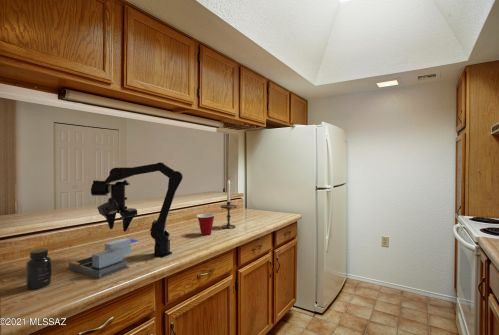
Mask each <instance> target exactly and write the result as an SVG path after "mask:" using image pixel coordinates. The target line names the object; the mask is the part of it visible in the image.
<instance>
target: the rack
mask: <svg viewBox="0 0 499 335" xmlns="http://www.w3.org/2000/svg"><path fill="white" fill-rule="evenodd" d="M127 262H128V261H127V260H125V261H124V257H123V249H121V248H117V247H116V248H113V249H109V250H106V251H105V250H103V251H99V252H97V253H92V255H91V256H89V257H86V258H82V259H78V260H75V261H68V267H67V269H68V270H71V271H74V272H77V273H79V274H83V275H87V276H89V277H93V278H95V279H98V280H100V279H102V278H105V277H108V276H110V275H113V274H117V273H119V272H122V271H124V270H126V269H129V268H130V266H128V264H127Z"/></svg>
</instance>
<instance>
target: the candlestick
mask: <svg viewBox="0 0 499 335" xmlns="http://www.w3.org/2000/svg"><path fill="white" fill-rule="evenodd" d="M227 178H228V180H227V184H226V187H227V188H226V190H227V192H226V193H227V197H226V198H227V200H226V204H222V205H220V207H219V208H221V209H226V210H227V215H226V218H227V219H226V221H227V222H226V224H223V225H221V228H222V229H225V230H232V229H235V228H236V225H235V224H231V223H230V221H231V219H230V218H231V215H230V214H231V213H230V210H232V209H236V208H238V205H236V204H231V181H230V175H228V176H227Z"/></svg>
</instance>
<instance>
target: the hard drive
mask: <svg viewBox="0 0 499 335" xmlns="http://www.w3.org/2000/svg"><path fill="white" fill-rule="evenodd" d="M130 239H131V245H134V243H135V244H139V243H140V241H139V240H137V239H134V238H130ZM138 242H139V243H138Z"/></svg>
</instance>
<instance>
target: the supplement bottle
mask: <svg viewBox="0 0 499 335" xmlns="http://www.w3.org/2000/svg"><path fill="white" fill-rule="evenodd" d="M25 264H26V266H25V277H26V278H25V279H26V280H25V285H26V289H28V290H30V291H31V290H32V291H33V290H35V291H36V290H39V289H43V288H47V287H49V286H50V285H51V283H52V258H51V257H50V256H49V250H48V249H47V248H38V249H34V250H31V251H30V252H29V259H28V260H27V261H26V263H25Z"/></svg>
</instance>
